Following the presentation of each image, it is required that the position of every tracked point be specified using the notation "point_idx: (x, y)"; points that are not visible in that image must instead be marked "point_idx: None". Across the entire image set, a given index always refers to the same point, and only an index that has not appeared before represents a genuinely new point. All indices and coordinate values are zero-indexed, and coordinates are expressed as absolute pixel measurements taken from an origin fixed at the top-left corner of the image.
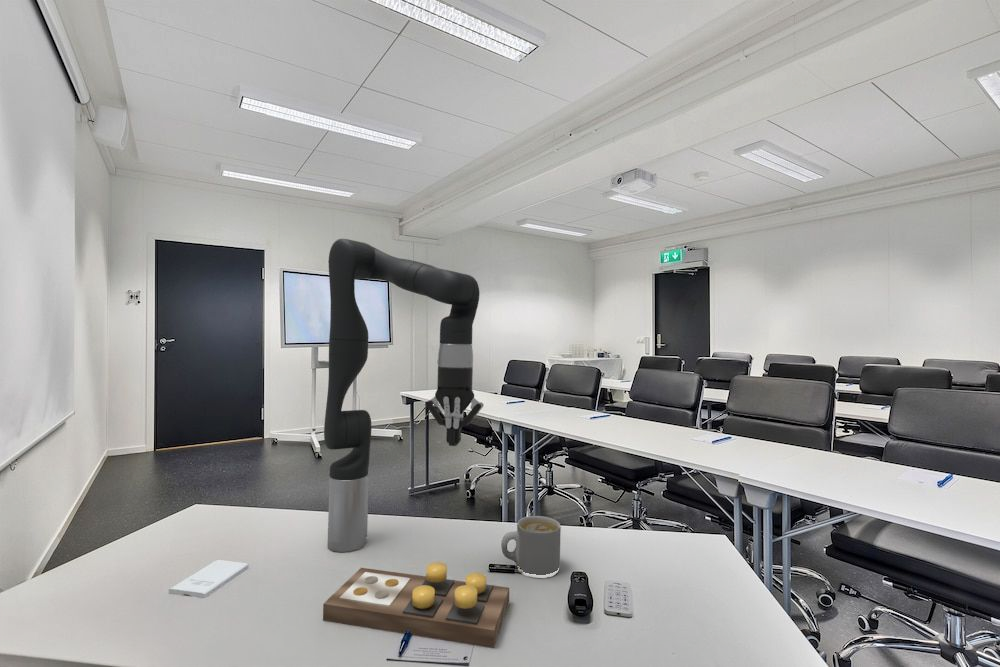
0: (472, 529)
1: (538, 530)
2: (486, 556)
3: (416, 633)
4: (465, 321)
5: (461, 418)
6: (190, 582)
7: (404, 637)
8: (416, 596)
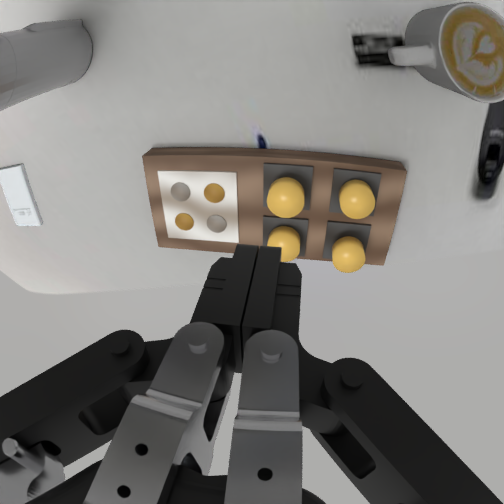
0: None
1: (478, 61)
2: (339, 7)
3: None
4: None
5: (291, 413)
6: (17, 213)
7: None
8: None
